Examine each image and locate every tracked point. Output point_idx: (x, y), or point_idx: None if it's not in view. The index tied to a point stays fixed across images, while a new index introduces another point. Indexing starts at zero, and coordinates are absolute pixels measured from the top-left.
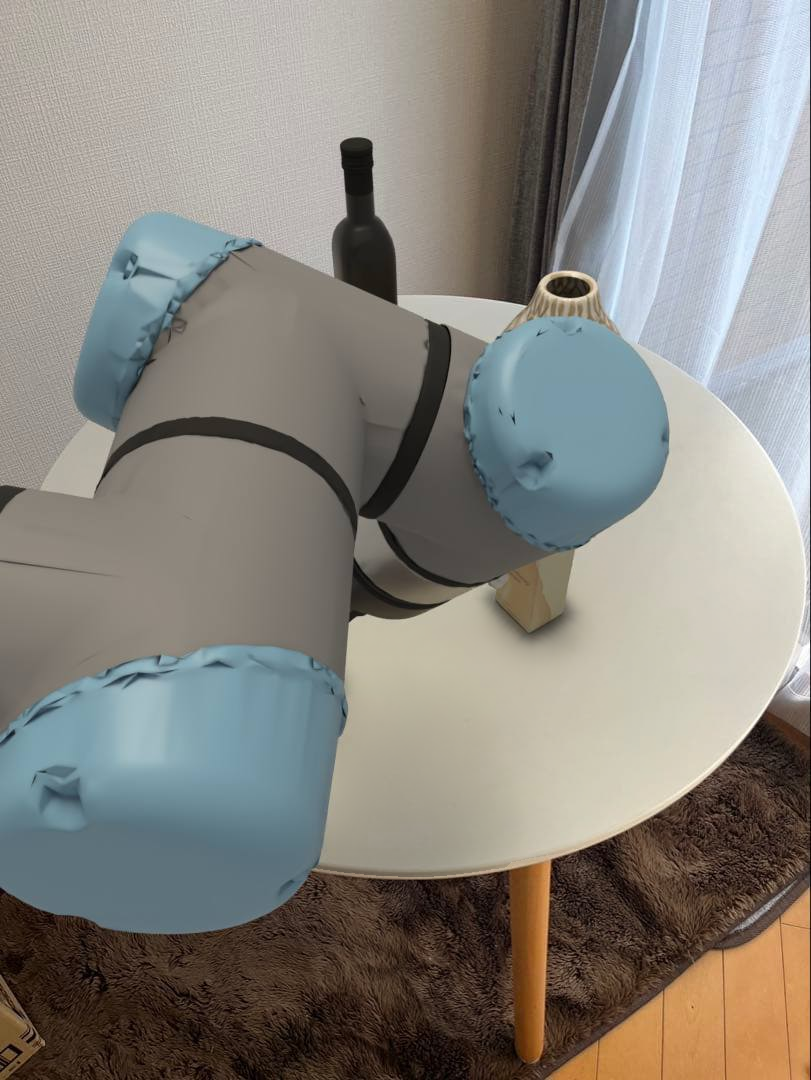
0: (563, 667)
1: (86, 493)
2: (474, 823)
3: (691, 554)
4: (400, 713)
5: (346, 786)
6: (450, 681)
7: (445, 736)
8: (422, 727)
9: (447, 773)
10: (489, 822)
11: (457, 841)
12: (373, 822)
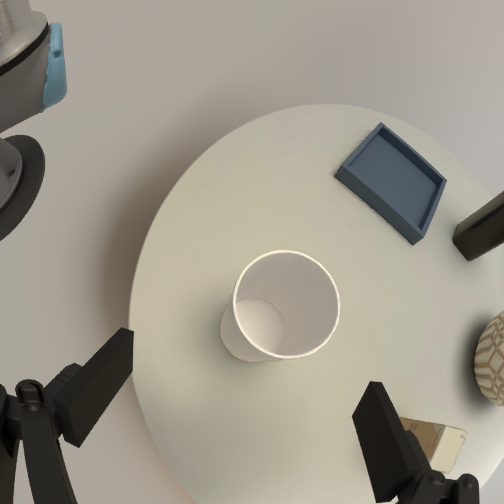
0: (356, 480)
1: (315, 121)
2: (218, 492)
3: (451, 477)
4: (272, 415)
5: (198, 410)
6: (314, 430)
7: (270, 451)
8: (269, 434)
9: (243, 465)
10: (224, 499)
11: (200, 489)
12: (183, 439)
